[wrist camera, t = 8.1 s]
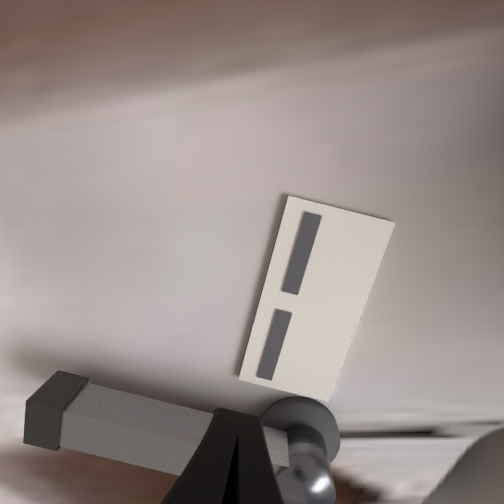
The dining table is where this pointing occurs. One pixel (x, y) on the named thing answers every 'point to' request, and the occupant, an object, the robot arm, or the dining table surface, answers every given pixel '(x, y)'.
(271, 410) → the gray disc base
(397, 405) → the dining table surface
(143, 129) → the dining table surface
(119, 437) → the swing arm
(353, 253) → the label card
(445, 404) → the dining table surface
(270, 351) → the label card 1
